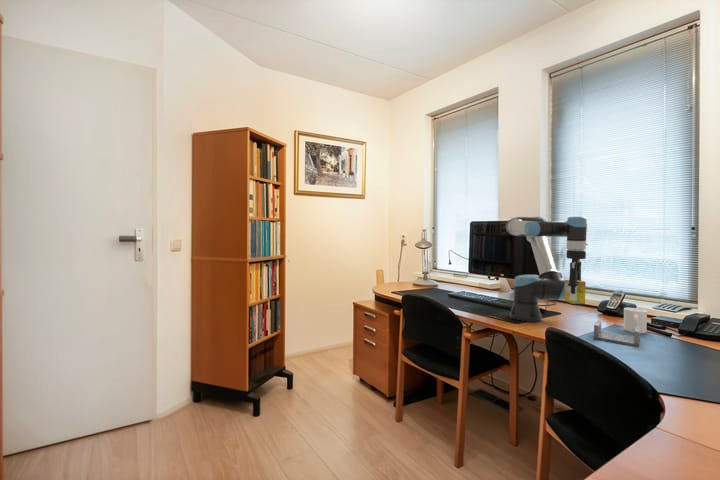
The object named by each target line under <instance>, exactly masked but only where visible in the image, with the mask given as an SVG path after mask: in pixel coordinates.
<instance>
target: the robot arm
mask: <svg viewBox="0 0 720 480" xmlns="http://www.w3.org/2000/svg"><path fill="white" fill-rule="evenodd" d="M566 220H567V221H565V220H564V221H562V220H561V221H559V220H558V221H557V220H555V221H549V220H548V219H547V218H545V217H542V216H535V217H534V216H531V217H530V216H528V217H527V216H516V217H511V219H509V220H508V221H507V222H506V224H505V230H506V232H507V233H508V234H509V235H511V236H516V237H525V238H526V240H527V242H529V243H530V245H531V249H532V252H533V256H534V260H535V263H536V265H537V270H538V273H539V275H538V274H520V275H517V276H515V277H514V281H513V282H514V283H513V305H512V307H511V309H510V312H509V318H510V319H512V318H513V319H512V320H515V319H516V320H515V321H519V320H521V321H520V322H525V321H526V322H527V323H539V322H542V318H543V317H542V313H541V310H540V307H539V300H547V301H565V280H569V284H568V286H570V298H569V300H571V301H577V287H576V286H577V280H580V281H582V261H581V260H585V259H586V257H587V251H586V249H587V246H588V242H587V232H588V231H587V230H588V223H587V222H588V221H587V220H588V219H587V217H585V216H569V217H567V219H566ZM550 237H552V238H553V237H554V238H555V237H559V238H560V237H562V238H566V256H565V257H566V259H568V260H569V259H571V262H570V263H569V277H568V278H566V277H563V275H562V273H561V272H560V271H558V269H557V266H556V264H555V260H554V257H553V254H552V252H551V249H550V245H549V243H548V238H550Z"/></svg>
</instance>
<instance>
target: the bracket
mask: <svg viewBox="0 0 720 480" xmlns="http://www.w3.org/2000/svg"><path fill="white" fill-rule="evenodd" d="M633 335H634V336H632V335H625V334H621V333H614V332H608V331H603V330H602V319H597V320H596V322H595V323H594V324H593V340H598V341H604V342H609V343H615V344H620V345H627V346H632V347H638V348H639V347H640V340H641V334H640V326H635V331H634V333H633Z"/></svg>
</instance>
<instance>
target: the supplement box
mask: <svg viewBox="0 0 720 480" xmlns="http://www.w3.org/2000/svg"><path fill="white" fill-rule="evenodd" d="M568 284H569V279H568V280H565V299H564V303H566V304H569V305H571V306H585V305H586V287H587V286H586V281H583V280H581V281H580V280H577V286H576V287H577V301H571V300H569V298H570V286H568Z"/></svg>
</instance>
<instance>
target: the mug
mask: <svg viewBox="0 0 720 480" xmlns="http://www.w3.org/2000/svg"><path fill="white" fill-rule="evenodd" d="M647 317H648V310H646V309H642V308H638V307H637V308H636V307H624V308H623V330H624V331H625V332H627V331H628V332H627V333H631V332H632V334H634V331H635V326H640V333H645V334H646V333H647V323H648V322H647V321H648V320H647V319H648V318H647Z"/></svg>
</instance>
